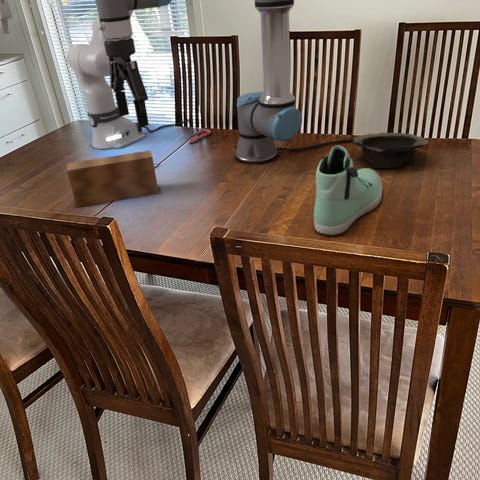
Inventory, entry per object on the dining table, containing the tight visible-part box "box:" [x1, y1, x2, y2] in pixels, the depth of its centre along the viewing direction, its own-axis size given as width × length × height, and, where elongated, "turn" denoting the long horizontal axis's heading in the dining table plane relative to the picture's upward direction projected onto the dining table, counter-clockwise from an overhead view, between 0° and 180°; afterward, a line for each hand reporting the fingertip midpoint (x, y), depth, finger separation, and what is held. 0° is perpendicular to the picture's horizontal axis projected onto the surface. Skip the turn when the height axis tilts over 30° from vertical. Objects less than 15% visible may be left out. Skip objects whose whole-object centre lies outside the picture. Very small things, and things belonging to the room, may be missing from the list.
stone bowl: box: [352, 132, 430, 170], centre depth 165 cm, size 25×25×9 cm
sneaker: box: [313, 145, 383, 236], centre depth 133 cm, size 14×35×20 cm, turn 152°
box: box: [66, 149, 159, 208], centre depth 154 cm, size 26×6×13 cm, turn 105°
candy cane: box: [188, 128, 212, 145], centre depth 200 cm, size 6×15×2 cm, turn 145°
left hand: (0, 33), depth 160 cm, fingers open, 8 cm apart
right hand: (133, 120), depth 133 cm, fingers open, 13 cm apart
